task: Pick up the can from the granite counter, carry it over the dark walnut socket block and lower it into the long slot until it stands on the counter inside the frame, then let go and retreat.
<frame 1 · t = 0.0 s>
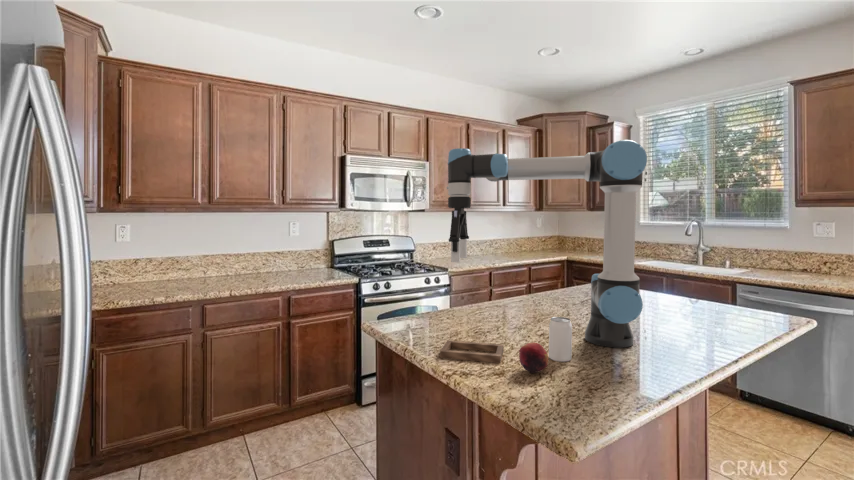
hand: (459, 259, 137), 28 cm above the countertop, fingers open, 13 cm apart
socket: (472, 354, 127), on the countertop
fruit: (533, 372, 112), on the countertop
can: (559, 359, 123), on the countertop
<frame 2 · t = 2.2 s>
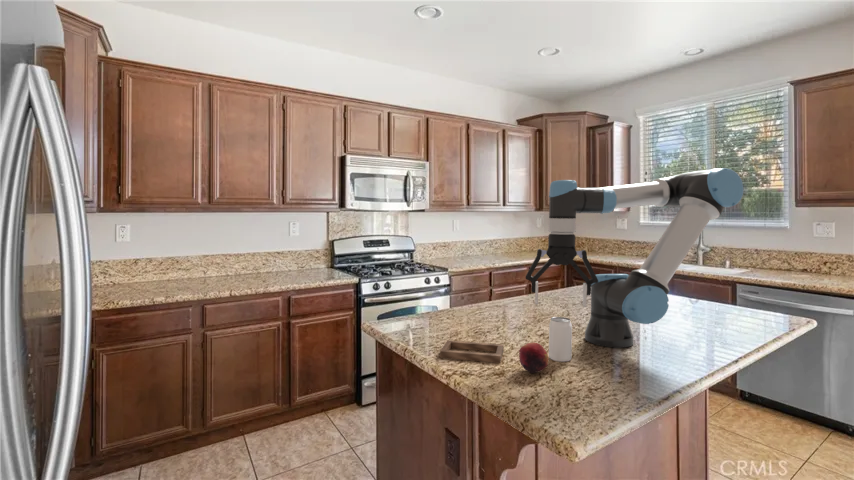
hand: (560, 304, 122), 16 cm above the countertop, fingers open, 13 cm apart
nothing on the countertop moved.
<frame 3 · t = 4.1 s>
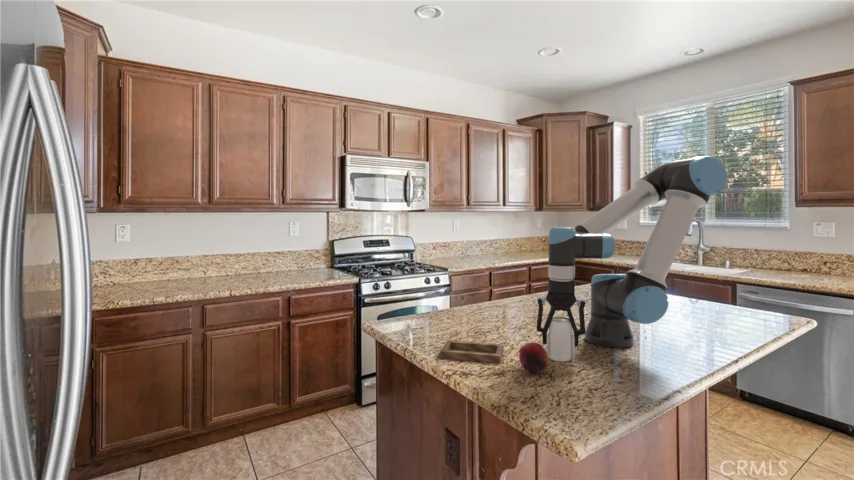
hand: (560, 355, 123), 1 cm above the countertop, fingers closed on can, 6 cm apart
can: (559, 359, 123), on the countertop, touching gripper
everything else where it was.
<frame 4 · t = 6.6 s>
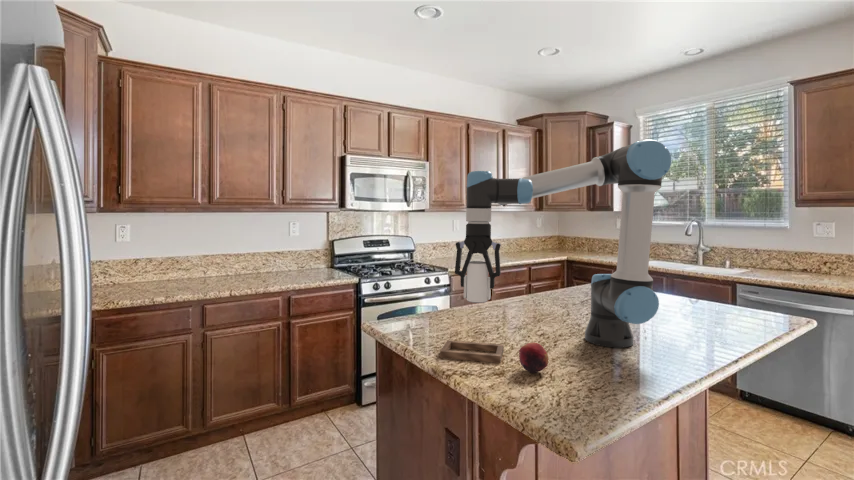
hand: (477, 298, 125), 18 cm above the countertop, fingers closed on can, 6 cm apart
can: (477, 301, 125), point 17 cm above the countertop, touching gripper
everything else where it was.
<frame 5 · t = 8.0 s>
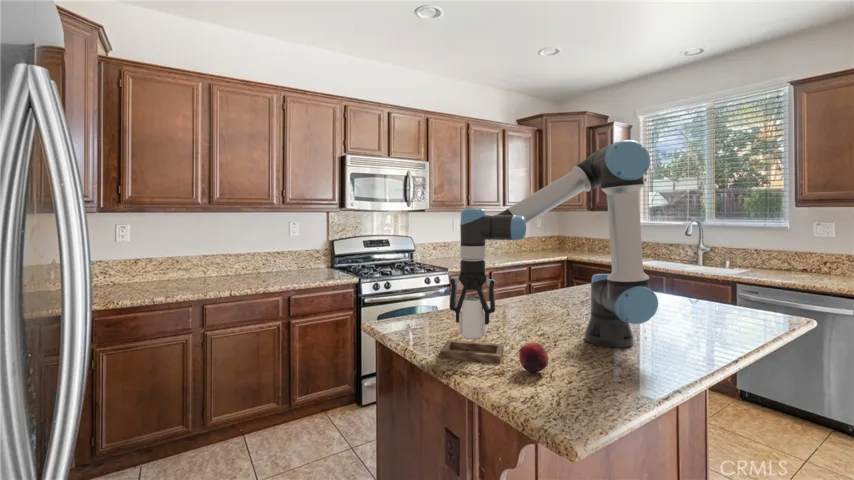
hand: (472, 333, 126), 6 cm above the countertop, fingers closed on can, 6 cm apart
can: (472, 337, 127), point 5 cm above the countertop, touching gripper
everything else where it was.
when the fingers open (2 cm above the countertop, at t = 9.2 s): can stays where it is, resting in socket.
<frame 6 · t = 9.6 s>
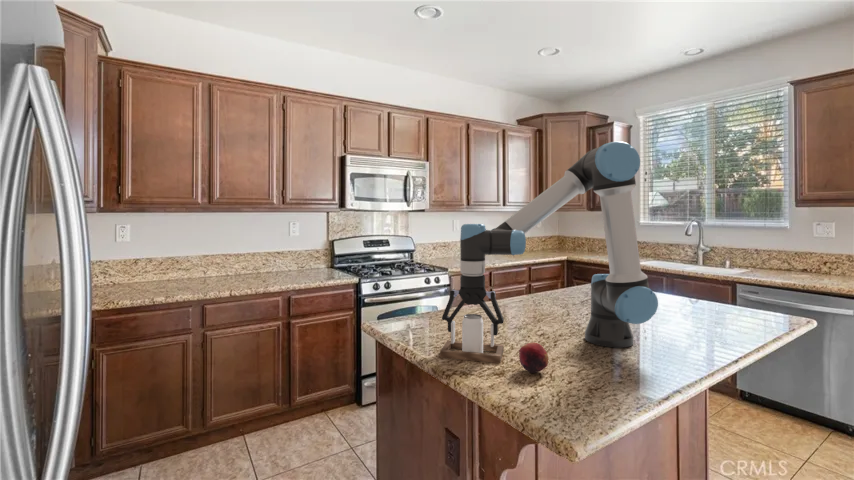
hand: (472, 344, 127), 3 cm above the countertop, fingers open, 11 cm apart
can: (472, 354, 127), resting in socket
everything else where it was.
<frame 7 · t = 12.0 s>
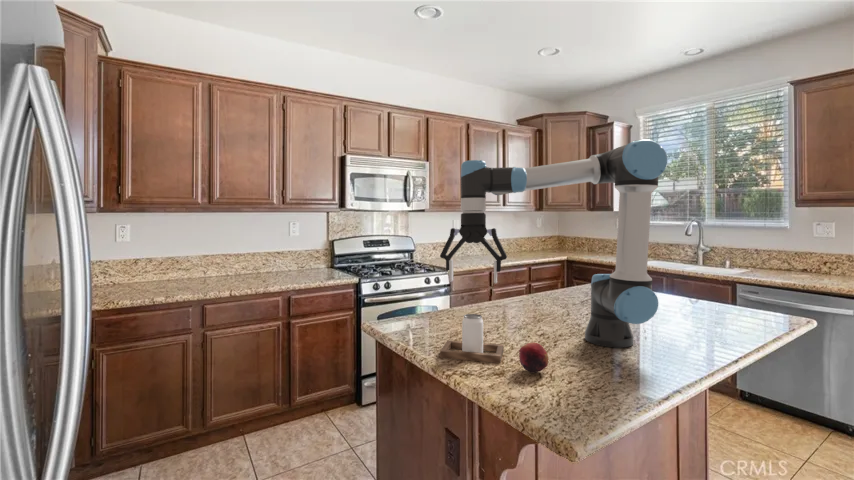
hand: (473, 281, 126), 23 cm above the countertop, fingers open, 13 cm apart
nothing on the countertop moved.
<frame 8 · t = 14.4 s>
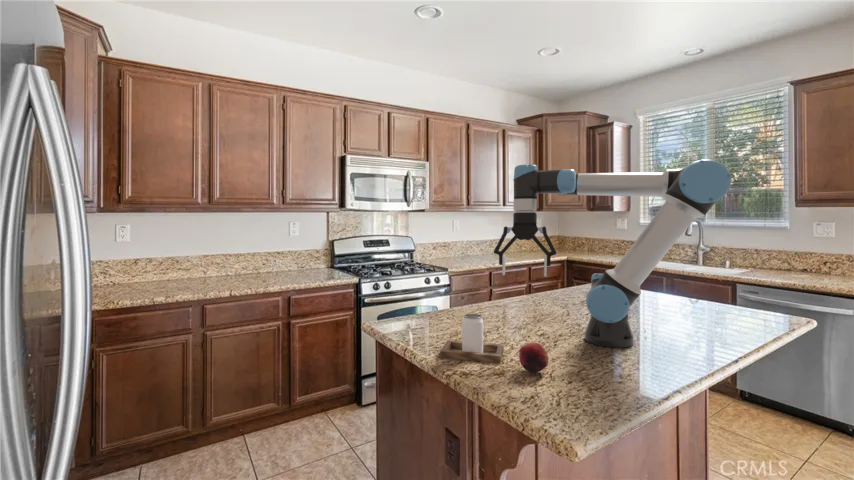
hand: (524, 275, 138), 23 cm above the countertop, fingers open, 13 cm apart
nothing on the countertop moved.
at the end: can inside the target area on the socket (0.1 cm from its centre), point 0.0 cm above the socket's base; can tilted 0°; the gripper is holding nothing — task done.
